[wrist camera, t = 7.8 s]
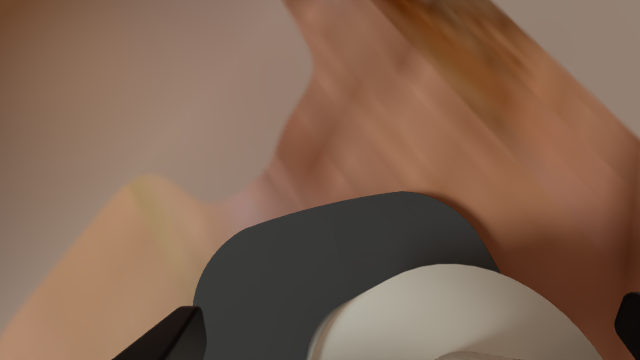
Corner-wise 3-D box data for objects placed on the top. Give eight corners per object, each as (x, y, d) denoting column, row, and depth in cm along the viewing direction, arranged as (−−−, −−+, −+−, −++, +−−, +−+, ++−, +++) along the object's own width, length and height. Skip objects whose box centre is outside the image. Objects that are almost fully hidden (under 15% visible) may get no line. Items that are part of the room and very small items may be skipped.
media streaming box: (438, 193, 20) (456, 171, 17) (571, 494, 14) (632, 532, 11) (201, 250, 19) (180, 236, 16) (236, 617, 13) (212, 695, 10)
